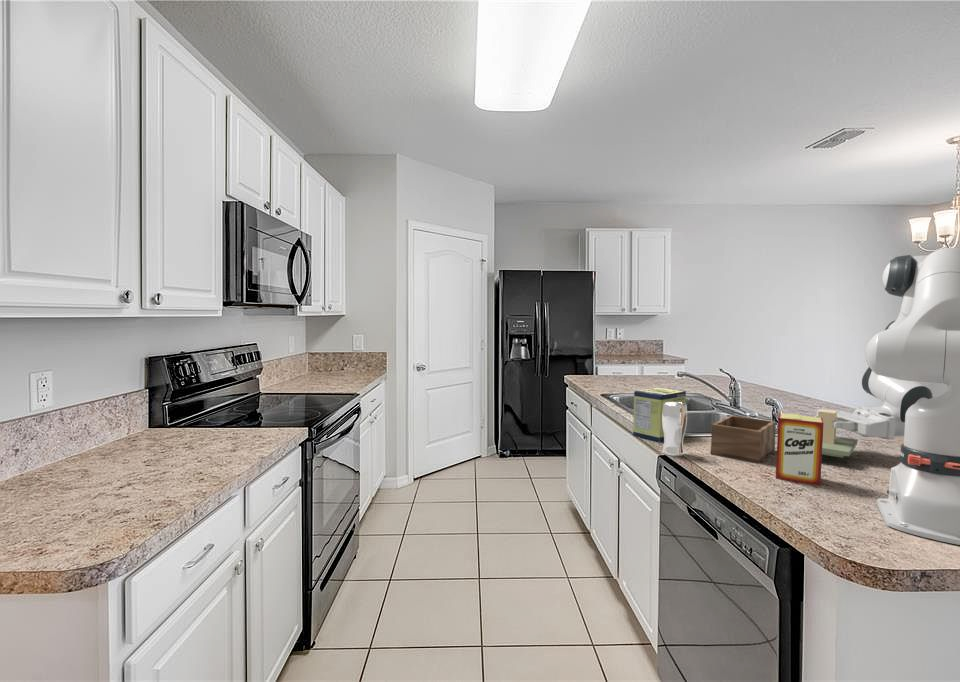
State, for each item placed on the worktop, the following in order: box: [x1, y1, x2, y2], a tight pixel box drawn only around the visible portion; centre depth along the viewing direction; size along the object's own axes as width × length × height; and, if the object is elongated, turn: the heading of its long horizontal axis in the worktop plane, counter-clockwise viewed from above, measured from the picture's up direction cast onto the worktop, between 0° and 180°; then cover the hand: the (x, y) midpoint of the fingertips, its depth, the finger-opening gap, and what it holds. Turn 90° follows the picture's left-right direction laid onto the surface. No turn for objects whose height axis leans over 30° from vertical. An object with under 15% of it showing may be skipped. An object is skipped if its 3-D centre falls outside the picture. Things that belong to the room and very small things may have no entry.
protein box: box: [632, 386, 687, 443], centre depth 171 cm, size 10×16×16 cm
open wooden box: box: [710, 414, 777, 464], centre depth 152 cm, size 18×13×9 cm
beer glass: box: [662, 402, 688, 457], centre depth 150 cm, size 7×7×15 cm
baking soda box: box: [775, 413, 823, 486], centre depth 128 cm, size 10×6×16 cm
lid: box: [818, 408, 858, 459], centre depth 148 cm, size 18×13×11 cm
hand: (824, 422), depth 147 cm, fingers closed on lid, 6 cm apart
